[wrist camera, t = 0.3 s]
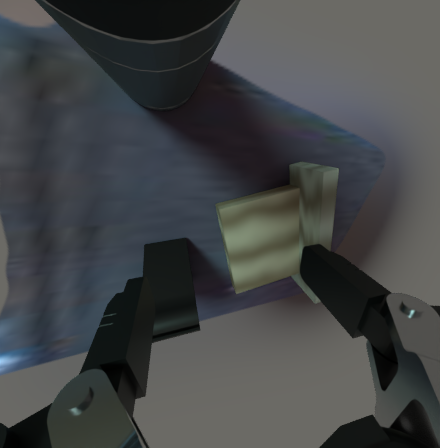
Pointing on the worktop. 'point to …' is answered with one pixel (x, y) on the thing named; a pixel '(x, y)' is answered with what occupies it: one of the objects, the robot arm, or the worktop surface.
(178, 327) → the phone stand
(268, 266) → the wall board
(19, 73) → the worktop surface
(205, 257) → the worktop surface
